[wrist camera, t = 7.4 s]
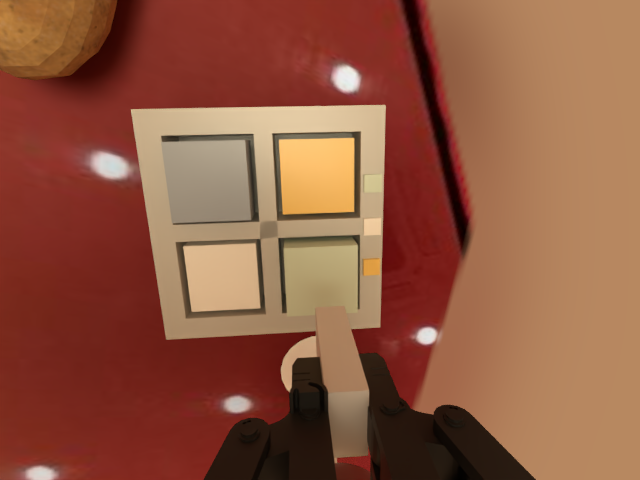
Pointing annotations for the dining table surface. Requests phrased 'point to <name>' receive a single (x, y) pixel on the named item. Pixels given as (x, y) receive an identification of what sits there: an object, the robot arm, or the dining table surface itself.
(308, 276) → the key sage
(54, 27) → the potato
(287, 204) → the key amber
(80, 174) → the dining table surface
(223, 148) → the key slate
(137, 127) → the keypad
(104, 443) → the dining table surface
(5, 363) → the dining table surface
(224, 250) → the key ivory
